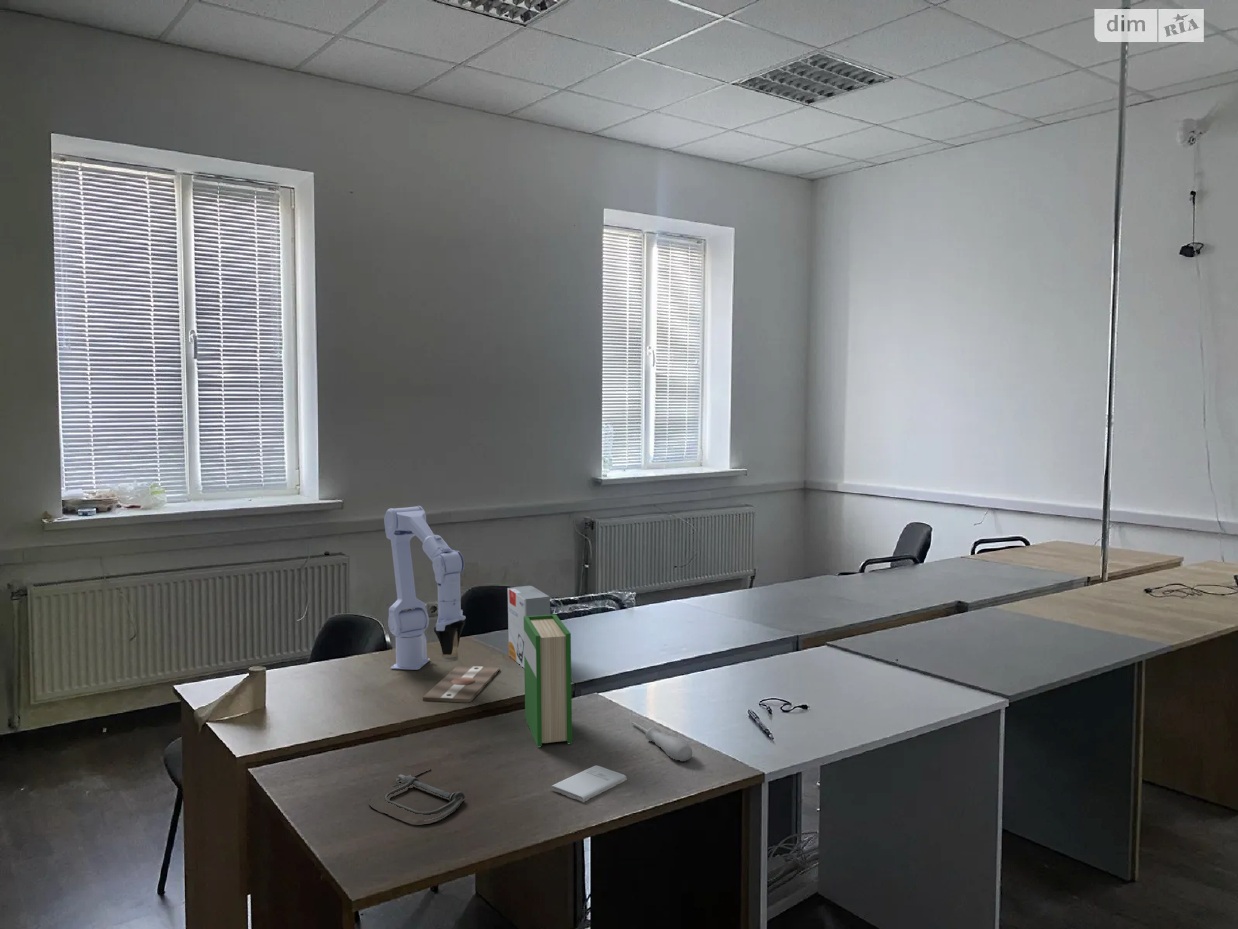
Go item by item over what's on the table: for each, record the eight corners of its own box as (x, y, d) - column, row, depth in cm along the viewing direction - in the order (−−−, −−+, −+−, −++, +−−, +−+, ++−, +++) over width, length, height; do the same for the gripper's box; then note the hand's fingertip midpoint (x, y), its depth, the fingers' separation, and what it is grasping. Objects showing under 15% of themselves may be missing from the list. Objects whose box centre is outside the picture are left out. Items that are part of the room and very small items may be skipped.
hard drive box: (507, 656, 257) (506, 587, 256) (533, 653, 260) (532, 585, 259) (525, 671, 243) (524, 598, 241) (552, 667, 246) (551, 595, 245)
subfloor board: (457, 668, 245) (457, 665, 245) (499, 670, 244) (499, 666, 243) (422, 700, 220) (422, 696, 220) (470, 702, 218) (469, 698, 218)
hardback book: (572, 744, 191) (570, 633, 189) (537, 748, 189) (535, 636, 188) (557, 716, 208) (555, 614, 206) (525, 719, 206) (523, 616, 205)
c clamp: (351, 801, 166) (351, 786, 166) (429, 772, 179) (429, 758, 179) (414, 836, 153) (414, 820, 152) (494, 802, 165) (493, 788, 165)
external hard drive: (550, 793, 169) (595, 772, 178) (583, 805, 163) (626, 783, 173) (550, 785, 169) (594, 764, 178) (582, 797, 163) (626, 774, 173)
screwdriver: (638, 731, 203) (641, 713, 204) (695, 766, 181) (699, 745, 181) (620, 730, 201) (623, 711, 202) (675, 765, 179) (679, 743, 179)
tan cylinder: (444, 657, 232) (443, 630, 232) (459, 657, 232) (459, 630, 231) (440, 661, 228) (439, 634, 228) (455, 661, 228) (454, 634, 227)
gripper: (454, 606, 221) (455, 660, 222) (473, 593, 235) (474, 644, 236) (427, 605, 222) (428, 659, 223) (447, 593, 237) (448, 643, 238)
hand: (450, 651), depth 230 cm, fingers closed on tan cylinder, 4 cm apart
